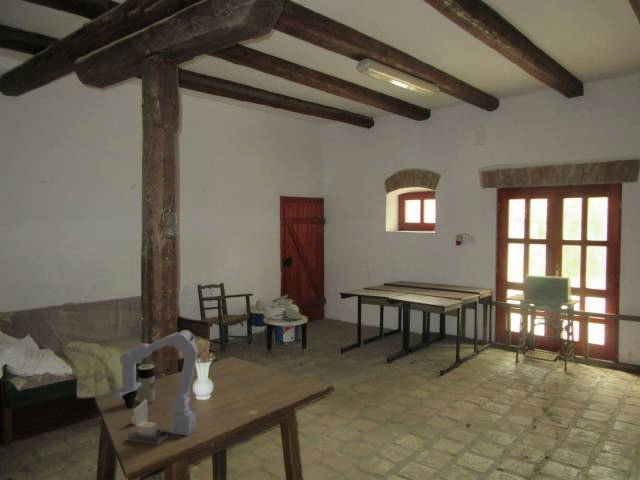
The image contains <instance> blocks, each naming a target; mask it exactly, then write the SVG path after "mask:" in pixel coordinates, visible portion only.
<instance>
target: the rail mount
mask: <svg viewBox="0 0 640 480" xmlns="http://www.w3.org/2000/svg"><path fill="white" fill-rule="evenodd" d="M168 437H169V434H168V430H165V429H158V428H157V434H156V435H155V436H153V437H151V436H145V435H138V434H137V430H136V431H135V432H133V433H131V432H129V433H128V434H127V437H126V440H127V441H131V442H138V443H145V444H150V445H157V446H158V445H159V444H161V443H162V442H164V441H165V440H167V438H168Z"/></svg>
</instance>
